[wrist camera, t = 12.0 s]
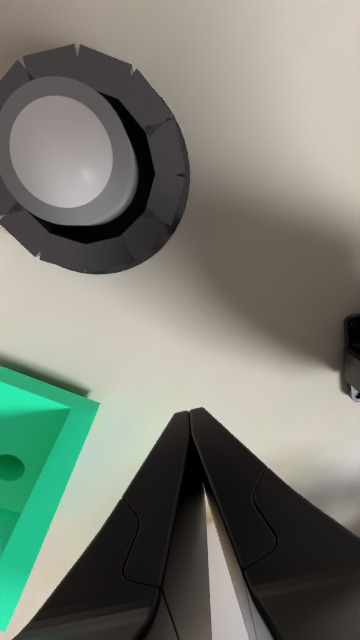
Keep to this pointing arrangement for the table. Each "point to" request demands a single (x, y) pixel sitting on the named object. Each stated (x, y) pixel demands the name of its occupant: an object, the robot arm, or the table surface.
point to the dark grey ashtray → (152, 154)
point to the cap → (67, 153)
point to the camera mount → (33, 470)
